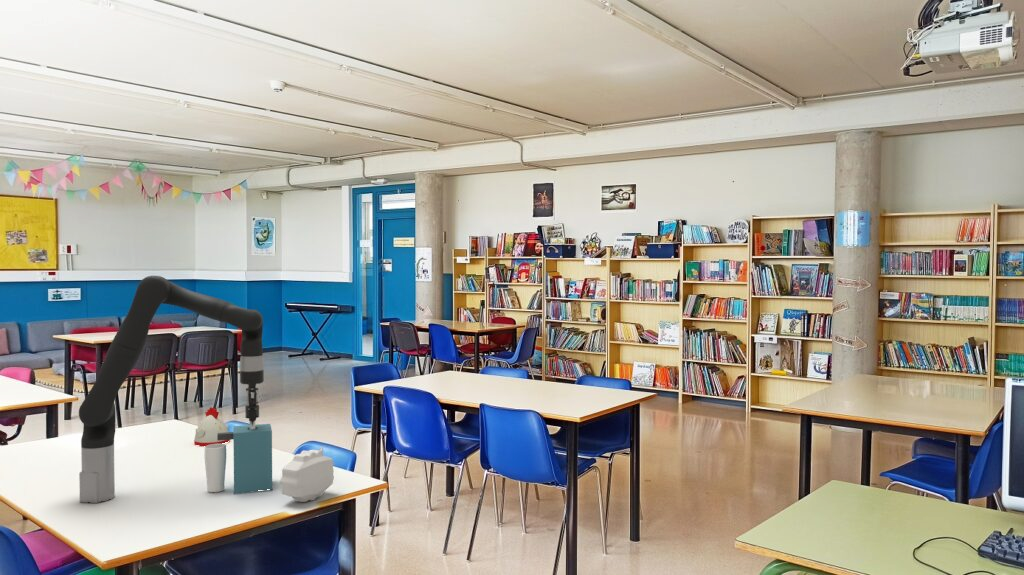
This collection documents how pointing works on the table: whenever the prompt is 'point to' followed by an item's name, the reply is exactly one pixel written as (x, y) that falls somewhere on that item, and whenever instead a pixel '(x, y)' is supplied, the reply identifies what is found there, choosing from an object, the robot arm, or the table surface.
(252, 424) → the plunger
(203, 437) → the kitchen timer
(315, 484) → the white stepped block
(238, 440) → the dispenser
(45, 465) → the table surface
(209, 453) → the drinking glass
